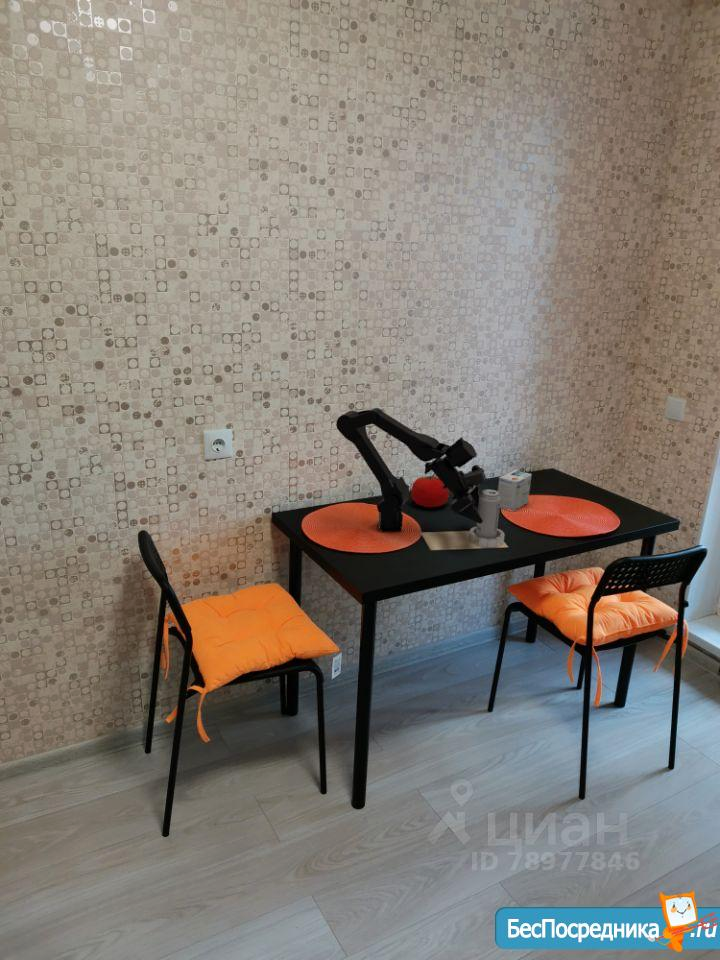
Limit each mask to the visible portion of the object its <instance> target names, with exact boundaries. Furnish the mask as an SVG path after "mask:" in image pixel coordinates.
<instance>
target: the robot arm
mask: <svg viewBox="0 0 720 960" xmlns="http://www.w3.org/2000/svg"><path fill="white" fill-rule="evenodd" d="M335 423H336V424H335V425H336V429H337V431H339V433H340V434H341V435H342V436H343V437H344V439H346V440H347V441H348V442H351V443H352V444H353V445H354V447H355V449H357V452H359V454H360V455H361V457H362V459H363V460H364V461H365V464H366V465H367V467H368V468H369V470H370V471H371V473H372V474H373V476H374V477H375V478H376V480H377V482H378V484H379V486H380V488H379V489H380V491H381V496H382V498H383V499H381V501H380V502H379V503H378V504H377V505H376V508H377V512H378V521H377V522H378V525H379V527H380V529H379V531H380V530H382V531H389V532H402V531H403V530H402V527H403V518H404V517H403V515H404V514H403V513H402V509H401V507H402V506H403V505H404V504H405V503H406V502H407V501H408V500H409V498H410V494H411V491H410V489H409V488H410V486H409V485H408V484H407V483H406V481H405V479H404V477H403V476H400V477H399V478H398V477H397V476H395V475H394V474H393V473H392V472H391V470H390V469H389V467H388V465H387V464H386V462H385V461H384V459H383V457H382V456H381V455H380V453H379V452H378V450H377V448H376V447H375V446H374V444H373V442H372V441H371V439H370V437H369V436H368V433H367V427H366V426H369V425H374V426H375V427H377V428H379V429H380V430H381V431H383V432H385V433H386V434H388V435H389V436H391V437H393V438H395V439H396V440H398V441H399V442H401V443H403V444H404V445H405V446H406V447H407V448H408V449H409V451H410V453H412V455H413V456H415V457H416V458H417V459H419V460H420V461H422V462H423V463H424V462H425V464H424V467H425V468H424V474H425V475H427V474H428V473H430V472H433V475H434V476H436V477H437V478H439V480H440V481H441V482H442V483H443V484H444V485H443V488H444V489H446V488H447V489H448V490H449V492H450V494H451V498H452V501H451V505H450V511H451V512H452V514H454V515H458V516H459V515H460V516H462V517H464V518H467V519H469V520H471V521H473V522H475V523H476V524H477V523H480V524H481V523H482V522H483V520H482V518H481V517H480V515H479V514H478V506H479V497H480V495H481V494H480V492H479V491H480V485H483V484H485V482H486V480H487V477H486V474H485V469H483V467H480V466H479V465H478V464H475V465H473V466H472V467H471V470H469V471H468V472H466V473H465V472H464V471H463V470H458V469H457V468H462V467H463V466H465V465H466V464H468V463H469V462H471V460H473V459H474V458H476V457H477V451H476V449H475V447H474V446H473V445H472V444H471V443H469V442H468V441H467V440H465V439H464V438H463V437H459V438H458V439H457V440H456V441H455V442H454V443H453V444H451V445H449V444H447V443H446V444H445V443H442V442H440V441H438V440H437V439H436V438H435V437H432V436H430V435H428V434H425V433H421V432H420V433H419V432H417V431H414V430H413V429H411V428H409V427H408V426H407V425H405V424H404V423H401V422H400V421H398V420H397V419H396V418H394V417H392V416H390V415H389V414H387V413H386V412H384V411H383V410H382V409H381V408H379V407H375V408H371V409H365V410H361V411H357V410H356V411H355V410H349V411H347V412H345V413H343V414H341V415H340V416H339V417H337V420H336V422H335ZM432 460H433V461H432ZM476 508H477V509H476ZM378 525H377V526H378ZM379 527H378V528H379Z"/></svg>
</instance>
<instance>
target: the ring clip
mask: <svg viewBox="0 0 720 960" xmlns="http://www.w3.org/2000/svg"><path fill="white" fill-rule="evenodd" d="M469 531H470V532H469V540H470V542H471V543H473V544H475V545H477V546H480V547H486V548H485V549H496V548H495V547H499V546H501V545H502V544H503V542H505V532H504V531H503V530H501V529H499V528H498V527H497V536H496V538H483V537H480V536H477V535H476V526H473V527H471V528H470V529H469Z"/></svg>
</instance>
